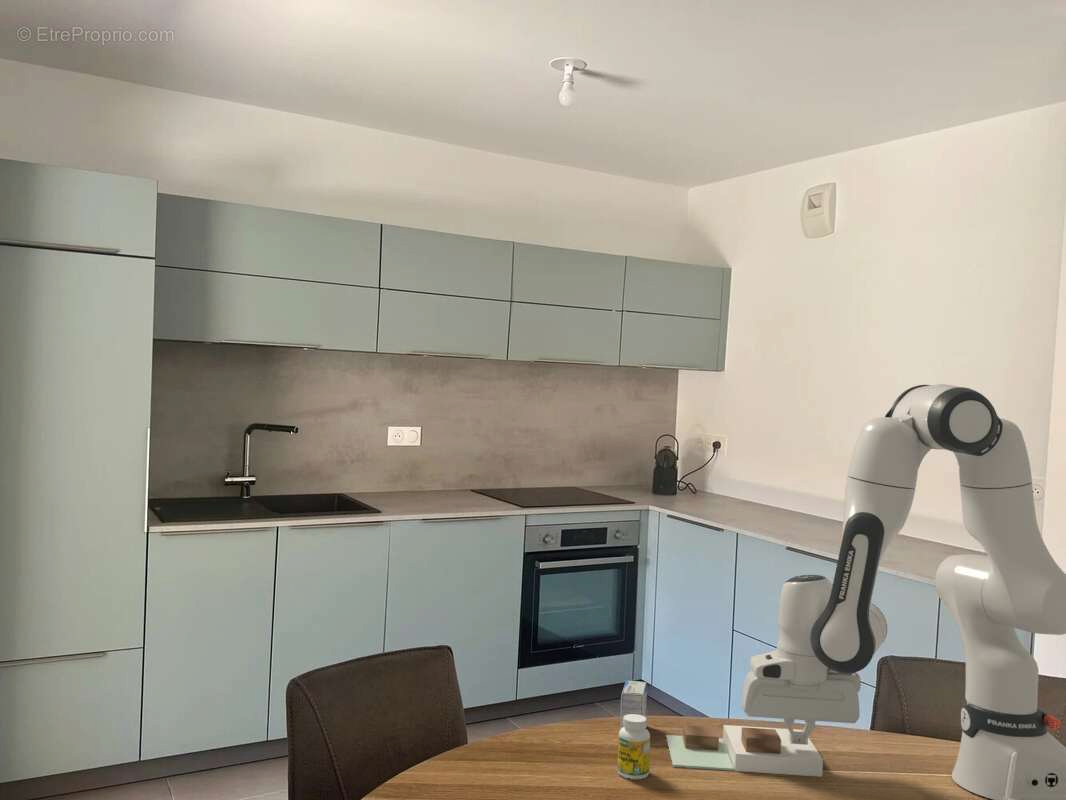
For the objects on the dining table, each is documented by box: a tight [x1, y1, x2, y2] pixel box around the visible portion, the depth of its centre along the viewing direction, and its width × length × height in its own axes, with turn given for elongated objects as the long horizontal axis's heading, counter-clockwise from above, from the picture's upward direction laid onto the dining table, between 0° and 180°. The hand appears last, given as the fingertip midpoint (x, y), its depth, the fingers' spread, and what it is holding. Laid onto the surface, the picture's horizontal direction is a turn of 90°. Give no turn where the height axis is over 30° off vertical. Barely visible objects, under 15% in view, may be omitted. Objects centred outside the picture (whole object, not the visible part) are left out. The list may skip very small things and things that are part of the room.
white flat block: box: [722, 724, 824, 778], centre depth 162 cm, size 15×14×3 cm
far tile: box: [682, 724, 720, 751], centre depth 166 cm, size 6×5×2 cm
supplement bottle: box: [617, 714, 651, 780], centre depth 152 cm, size 5×5×10 cm
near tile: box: [741, 727, 781, 754], centre depth 159 cm, size 6×5×2 cm
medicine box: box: [619, 680, 648, 731], centre depth 172 cm, size 8×4×9 cm, turn 168°
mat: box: [665, 734, 735, 772], centre depth 163 cm, size 11×14×1 cm
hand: (798, 743), depth 158 cm, fingers closed
